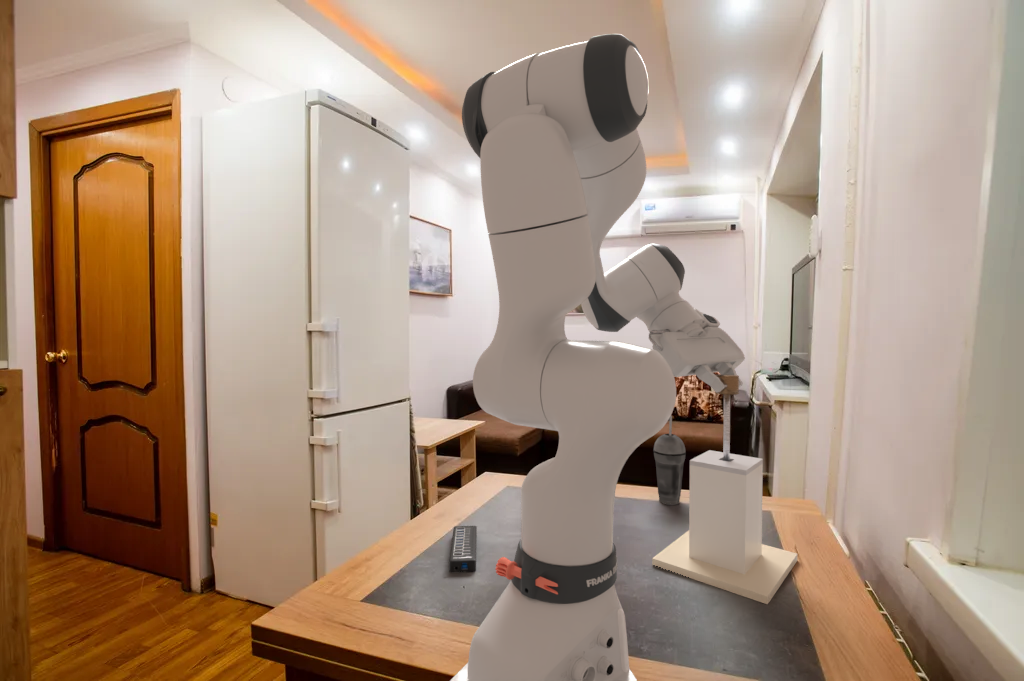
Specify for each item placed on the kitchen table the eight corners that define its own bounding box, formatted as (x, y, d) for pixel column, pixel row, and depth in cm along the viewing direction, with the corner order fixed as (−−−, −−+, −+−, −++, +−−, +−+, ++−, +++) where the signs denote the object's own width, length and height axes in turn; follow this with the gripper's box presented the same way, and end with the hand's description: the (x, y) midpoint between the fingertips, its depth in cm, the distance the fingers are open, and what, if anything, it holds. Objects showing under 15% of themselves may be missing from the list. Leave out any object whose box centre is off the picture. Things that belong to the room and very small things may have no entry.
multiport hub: (476, 536, 97) (476, 525, 97) (475, 574, 83) (475, 560, 83) (453, 537, 97) (453, 525, 97) (449, 575, 83) (449, 561, 83)
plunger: (741, 492, 80) (742, 378, 79) (697, 483, 85) (698, 375, 84) (754, 482, 85) (755, 375, 85) (712, 474, 90) (713, 372, 89)
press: (767, 604, 73) (769, 483, 72) (652, 565, 85) (652, 461, 84) (797, 560, 86) (798, 458, 86) (694, 531, 98) (694, 441, 98)
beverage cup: (681, 496, 118) (682, 412, 118) (689, 507, 111) (690, 418, 111) (650, 495, 119) (650, 411, 118) (656, 506, 112) (656, 417, 111)
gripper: (655, 317, 83) (709, 381, 76) (720, 317, 96) (772, 372, 88) (633, 343, 87) (683, 406, 79) (698, 340, 99) (747, 394, 92)
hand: (730, 388), depth 84 cm, fingers closed on plunger, 4 cm apart
